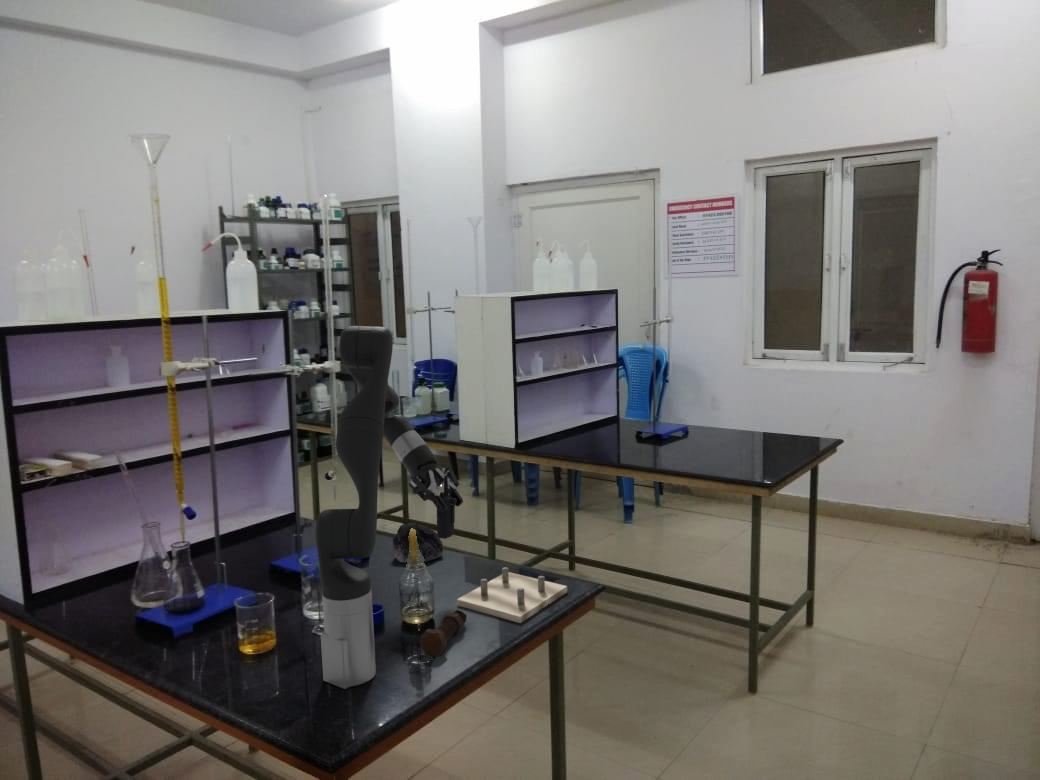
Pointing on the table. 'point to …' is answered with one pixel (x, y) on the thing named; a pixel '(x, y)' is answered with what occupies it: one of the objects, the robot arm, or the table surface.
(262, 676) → the table surface
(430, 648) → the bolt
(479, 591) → the peg cradle
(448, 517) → the two-way radio
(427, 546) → the crystal cluster
